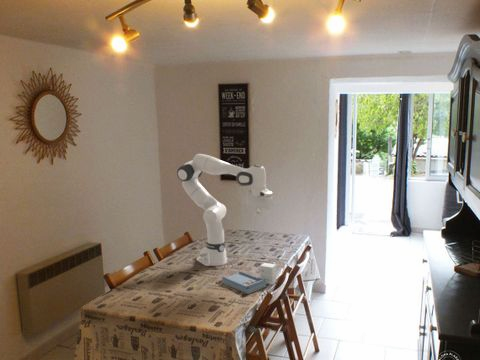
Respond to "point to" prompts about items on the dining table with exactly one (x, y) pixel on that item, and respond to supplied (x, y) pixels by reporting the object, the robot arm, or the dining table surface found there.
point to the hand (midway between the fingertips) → (259, 213)
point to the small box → (268, 273)
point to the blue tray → (244, 282)
